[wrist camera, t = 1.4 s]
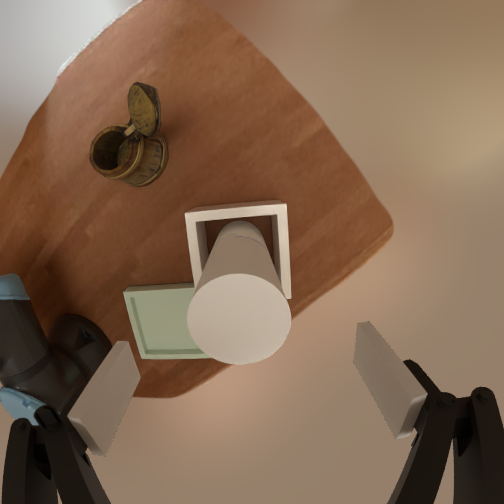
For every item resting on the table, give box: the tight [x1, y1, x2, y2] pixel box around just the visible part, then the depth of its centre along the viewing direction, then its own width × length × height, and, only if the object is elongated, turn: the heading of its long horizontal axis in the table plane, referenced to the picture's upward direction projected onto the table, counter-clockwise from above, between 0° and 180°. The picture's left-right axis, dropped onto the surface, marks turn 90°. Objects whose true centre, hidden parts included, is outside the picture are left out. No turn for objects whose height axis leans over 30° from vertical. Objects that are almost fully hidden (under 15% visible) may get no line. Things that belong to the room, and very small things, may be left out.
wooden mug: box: [90, 82, 168, 187], centre depth 30 cm, size 9×14×18 cm, turn 121°
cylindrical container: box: [187, 220, 291, 365], centre depth 31 cm, size 7×7×25 cm
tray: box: [123, 282, 212, 359], centre depth 45 cm, size 13×13×2 cm
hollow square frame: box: [185, 200, 291, 299], centre depth 39 cm, size 12×12×8 cm
